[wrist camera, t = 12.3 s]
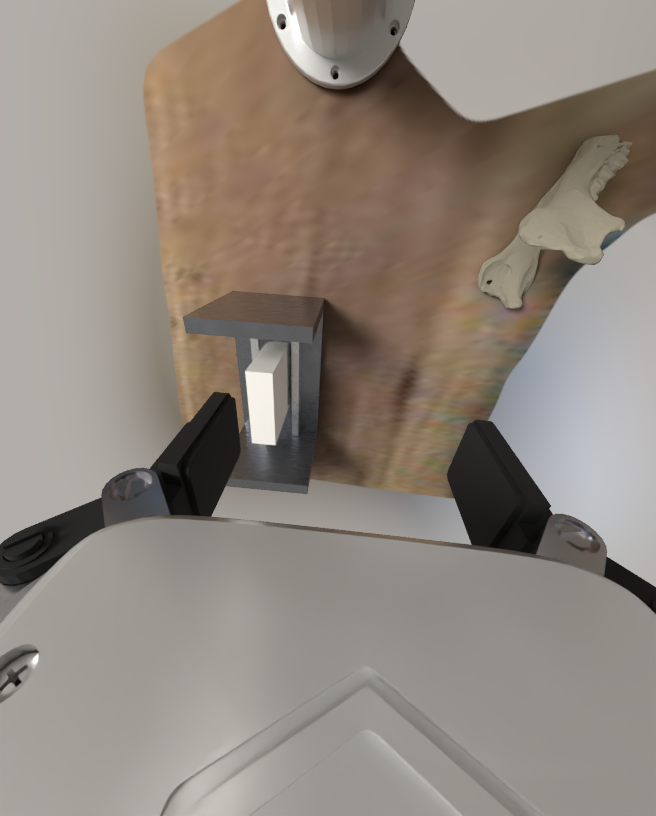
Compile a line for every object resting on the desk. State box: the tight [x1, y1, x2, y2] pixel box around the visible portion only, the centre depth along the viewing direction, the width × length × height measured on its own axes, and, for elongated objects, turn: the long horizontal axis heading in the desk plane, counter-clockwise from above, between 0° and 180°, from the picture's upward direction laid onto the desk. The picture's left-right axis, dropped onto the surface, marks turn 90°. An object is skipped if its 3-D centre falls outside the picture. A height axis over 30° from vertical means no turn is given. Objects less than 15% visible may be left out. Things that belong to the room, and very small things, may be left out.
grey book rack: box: [183, 291, 324, 494], centre depth 38 cm, size 22×12×13 cm, turn 177°
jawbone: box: [477, 135, 633, 309], centre depth 28 cm, size 14×8×15 cm
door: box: [245, 341, 290, 445], centre depth 38 cm, size 10×3×10 cm, turn 176°
